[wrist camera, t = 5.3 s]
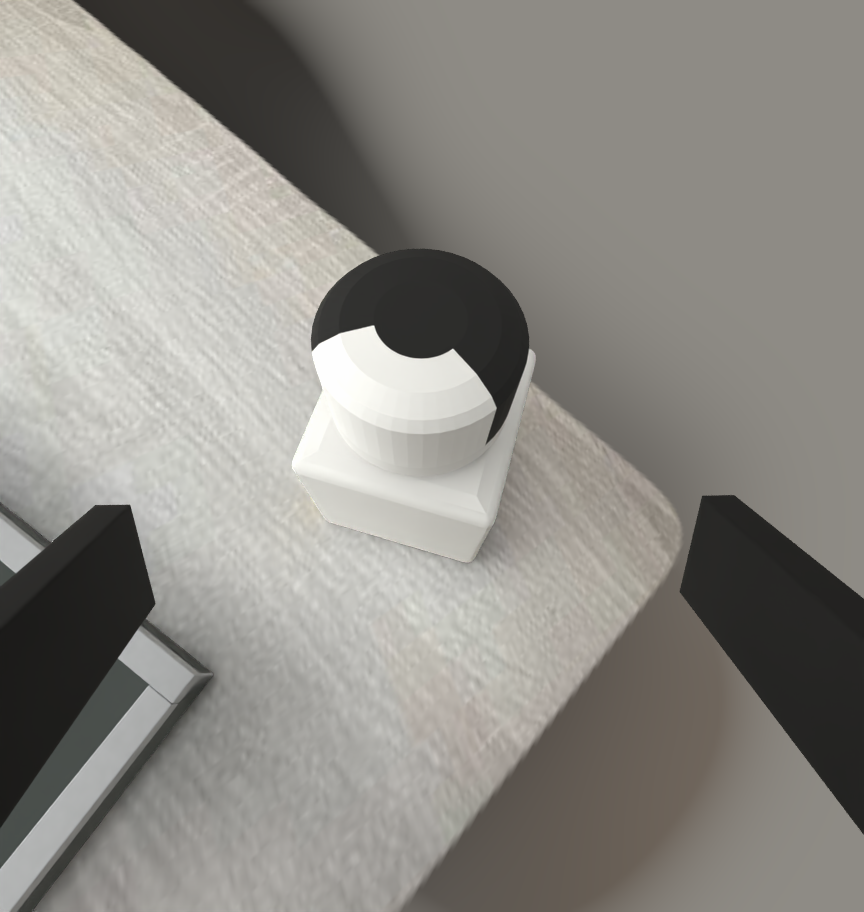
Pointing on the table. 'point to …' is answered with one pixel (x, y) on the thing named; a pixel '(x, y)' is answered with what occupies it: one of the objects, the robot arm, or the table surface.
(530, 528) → the table surface
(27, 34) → the table surface
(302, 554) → the table surface
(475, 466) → the medicine bottle
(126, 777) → the chalkboard
